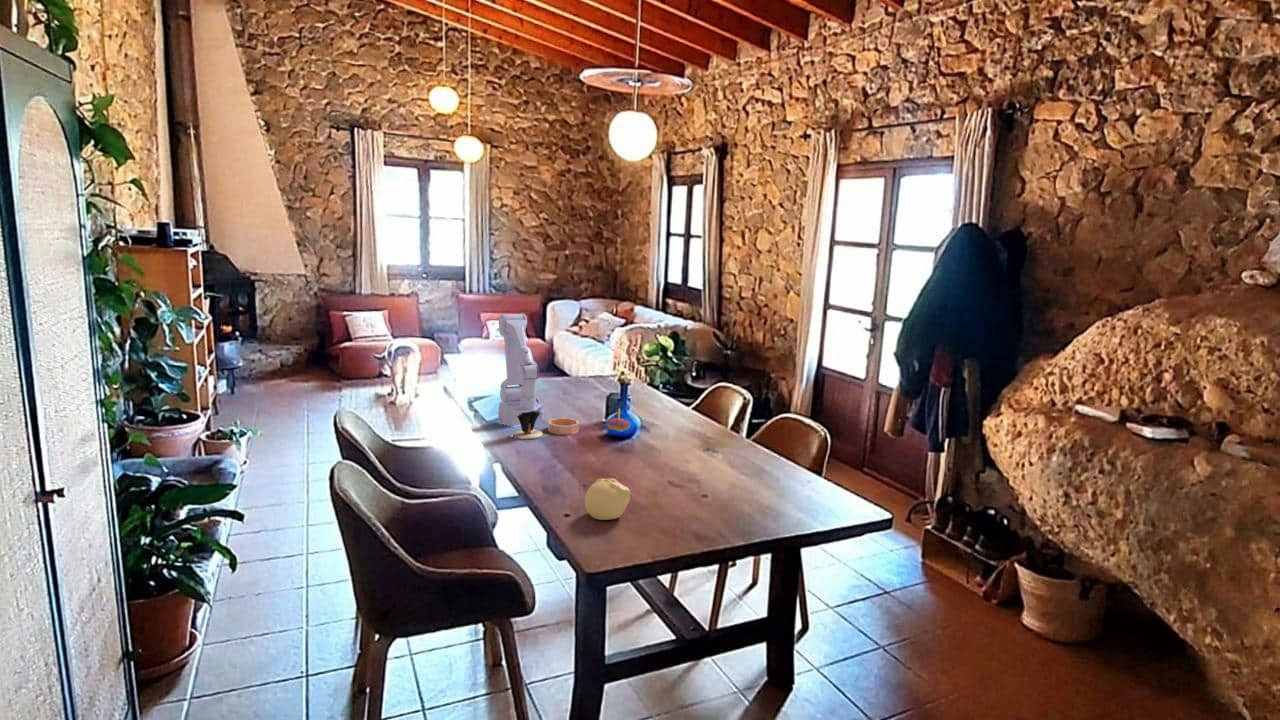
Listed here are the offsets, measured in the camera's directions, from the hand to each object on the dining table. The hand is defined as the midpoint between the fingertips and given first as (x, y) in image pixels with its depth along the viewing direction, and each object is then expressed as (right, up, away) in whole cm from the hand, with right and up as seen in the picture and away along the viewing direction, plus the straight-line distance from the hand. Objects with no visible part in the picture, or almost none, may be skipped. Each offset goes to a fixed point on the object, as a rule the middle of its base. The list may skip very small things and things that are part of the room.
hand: (527, 431), depth 274 cm
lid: (0, -1, 0) cm, 2 cm away
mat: (0, -2, 0) cm, 2 cm away
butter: (+33, -18, -69) cm, 78 cm away
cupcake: (+34, -3, +6) cm, 35 cm away
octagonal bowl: (+12, -1, +10) cm, 16 cm away
